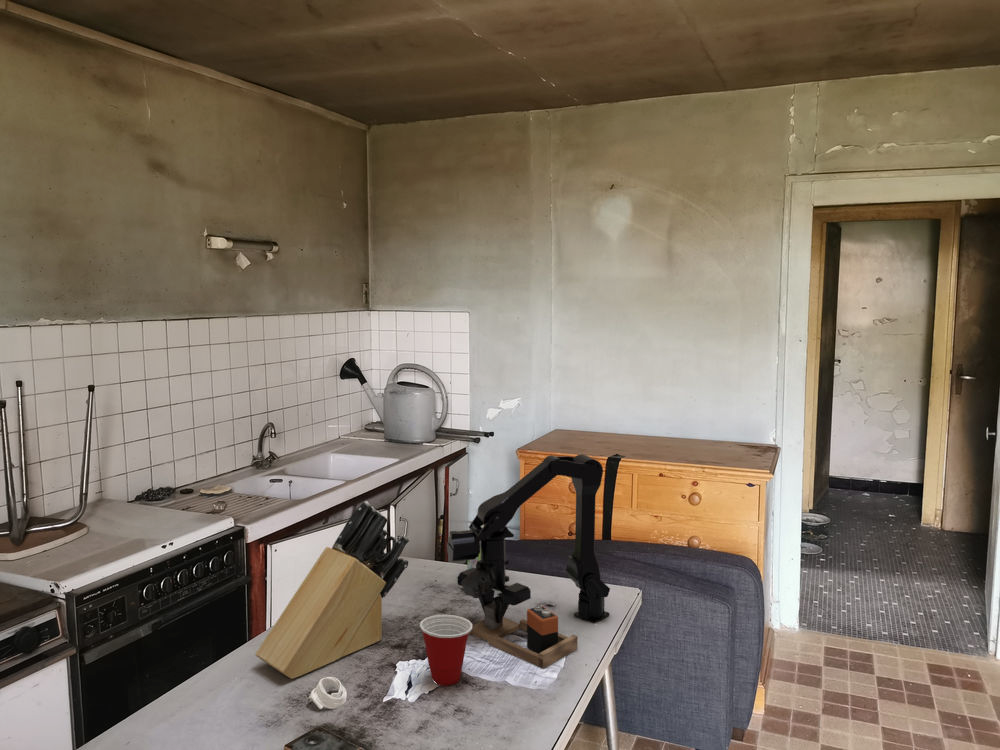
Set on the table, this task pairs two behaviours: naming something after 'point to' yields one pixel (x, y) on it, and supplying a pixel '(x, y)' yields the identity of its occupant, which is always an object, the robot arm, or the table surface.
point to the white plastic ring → (326, 700)
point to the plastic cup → (445, 646)
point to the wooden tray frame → (494, 634)
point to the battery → (541, 629)
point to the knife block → (337, 599)
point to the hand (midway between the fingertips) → (493, 620)
